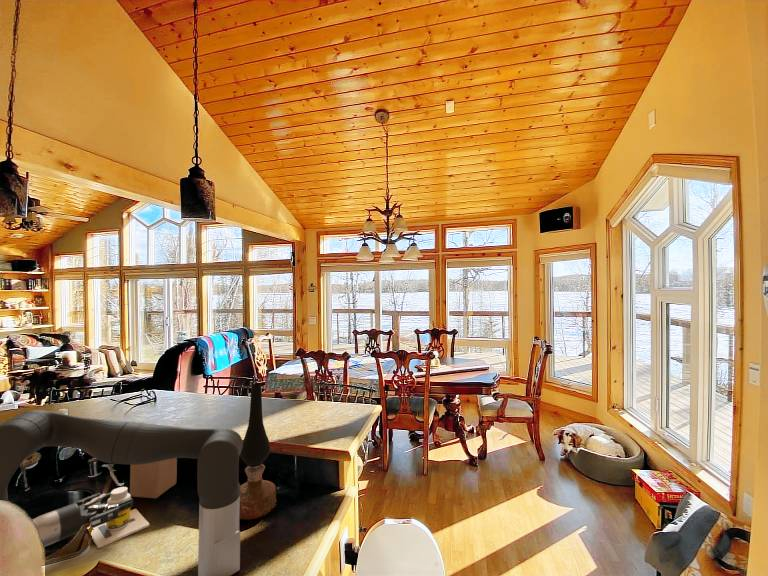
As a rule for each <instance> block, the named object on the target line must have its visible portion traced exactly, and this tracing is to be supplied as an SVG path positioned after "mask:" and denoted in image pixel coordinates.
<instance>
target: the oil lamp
mask: <svg viewBox="0 0 768 576" xmlns="http://www.w3.org/2000/svg"><path fill="white" fill-rule="evenodd" d="M250 387H251V389H250V405H249V418H248V424H247V428H246V432H245V435H244V438H243V439H242V441H243V446H242V450H241V453H240V456H239V458H240V459H241V460H242V462H244V464H246V465H247V467H245V469H244V472H245V474H246V476H247V481H246V482H244V483H242V484H240V514H239V520H254V518H255V519H259V518H261V516H262V517H264V516H266V515H268V514H269V513H268V512H270V511H271V509H273V508H274V507H275V508H276V506H277V503H276V502H277V499H276V498H277V495H276V494H277V490H276V489H277V487H276V485H275V483H273V482H272V481H270V480H265V479H263V476H262V475H263V473H264V472H265V469H266V466H265V465H264V461H266V460H267V459H268V457H269V455H270V453H271V444H270V440H269V437H268V435H267V431H266V428H265V424H264V419H263V418H264V416H263V400H262V397H263V396H262V384H261V383H253V384H251V386H250ZM275 503H276V504H275ZM275 505H276V506H275ZM275 508H274V509H275ZM274 509H273V510H274ZM271 512H272V511H271ZM271 512H270V513H271ZM267 513H268V514H267ZM265 514H266V515H265ZM263 515H264V516H263ZM258 517H259V518H258Z"/></svg>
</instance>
